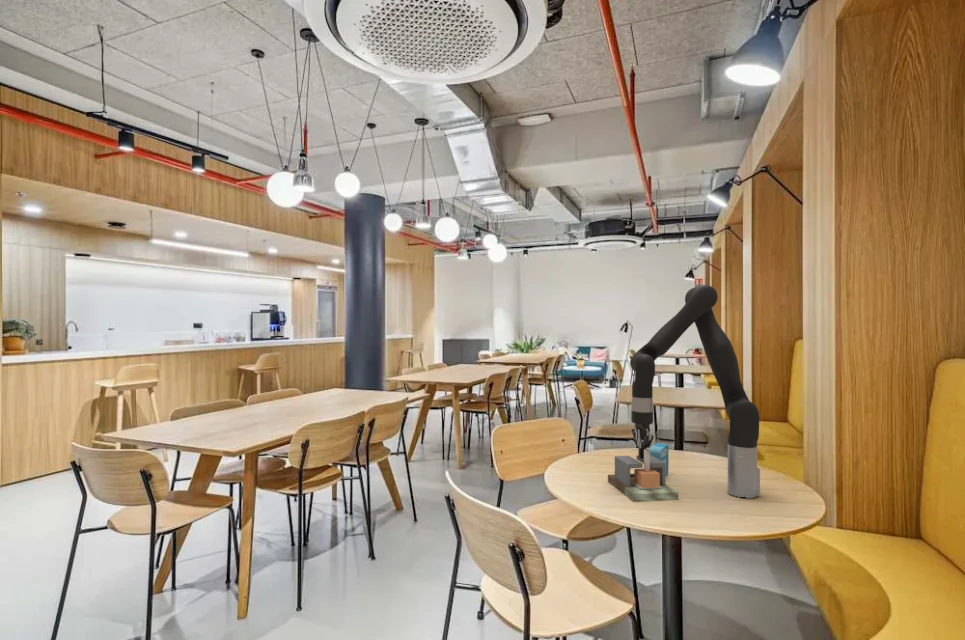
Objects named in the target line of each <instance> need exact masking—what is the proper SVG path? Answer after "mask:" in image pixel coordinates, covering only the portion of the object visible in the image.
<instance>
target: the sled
mask: <svg viewBox="0 0 965 640" xmlns="http://www.w3.org/2000/svg"><path fill="white" fill-rule="evenodd" d="M633 469H634V473H633V474H634V482H633V483H632V484H633V485H634V486H636V487H637V488H639V489H662V487H661V486H660V473H658V472H656V471H655V470H653V469H650V449H649V448H646V449H644V464H643V468H633Z"/></svg>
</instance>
